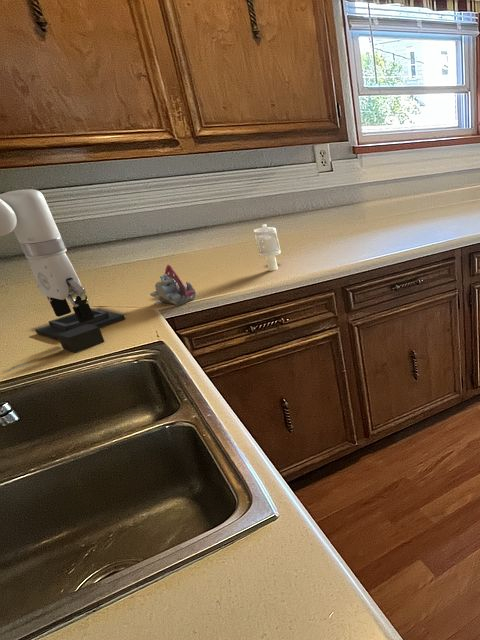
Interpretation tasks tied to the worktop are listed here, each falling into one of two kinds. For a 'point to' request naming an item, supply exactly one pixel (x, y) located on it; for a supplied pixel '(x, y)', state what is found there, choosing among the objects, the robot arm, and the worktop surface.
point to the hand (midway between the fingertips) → (75, 317)
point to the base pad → (72, 322)
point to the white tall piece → (268, 245)
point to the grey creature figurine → (173, 289)
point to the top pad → (80, 338)
